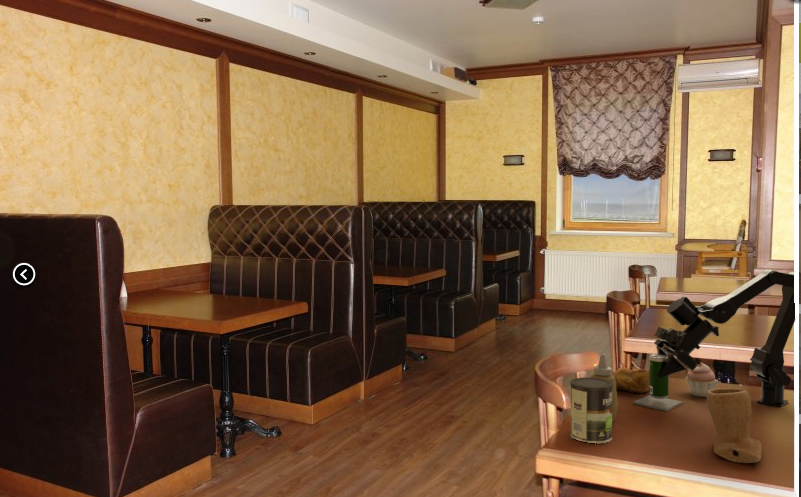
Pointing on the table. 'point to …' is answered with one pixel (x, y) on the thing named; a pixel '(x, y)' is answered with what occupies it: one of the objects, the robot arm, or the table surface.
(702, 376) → the cupcake
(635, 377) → the bread roll
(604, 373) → the squeeze bottle
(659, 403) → the coaster
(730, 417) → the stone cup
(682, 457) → the table surface
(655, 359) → the guarana soda can
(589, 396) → the coffee can
